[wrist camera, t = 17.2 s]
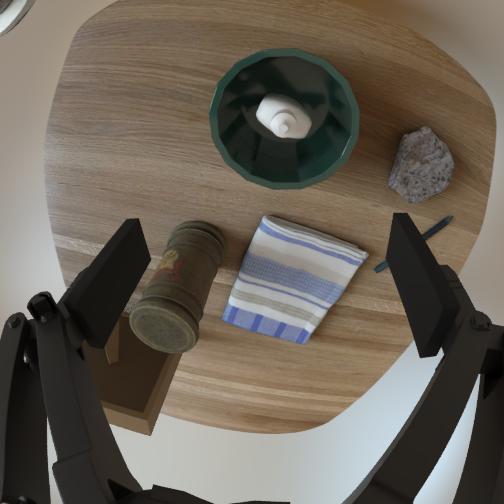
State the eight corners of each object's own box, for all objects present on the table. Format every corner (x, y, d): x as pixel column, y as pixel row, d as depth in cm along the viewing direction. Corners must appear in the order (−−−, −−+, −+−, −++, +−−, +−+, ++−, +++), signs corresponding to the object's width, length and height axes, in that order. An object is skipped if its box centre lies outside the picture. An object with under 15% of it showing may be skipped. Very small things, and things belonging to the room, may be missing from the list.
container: (236, 236, 46) (211, 327, 32) (212, 275, 51) (185, 364, 37) (181, 209, 45) (133, 291, 30) (164, 252, 49) (120, 335, 35)
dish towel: (369, 247, 45) (373, 258, 43) (305, 339, 58) (305, 350, 56) (264, 206, 43) (262, 216, 41) (220, 314, 56) (217, 325, 54)
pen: (452, 216, 40) (455, 220, 39) (376, 271, 48) (377, 275, 47) (449, 212, 40) (452, 215, 39) (373, 267, 47) (374, 271, 46)
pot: (221, 56, 32) (202, 55, 24) (342, 53, 30) (359, 50, 22) (231, 164, 40) (218, 191, 33) (342, 163, 38) (355, 190, 31)
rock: (382, 190, 39) (390, 203, 36) (403, 117, 33) (414, 123, 30) (433, 203, 39) (444, 216, 36) (455, 136, 33) (470, 145, 30)
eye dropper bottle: (283, 136, 36) (282, 166, 27) (255, 101, 34) (243, 117, 24) (312, 117, 35) (323, 141, 25) (285, 81, 32) (285, 88, 23)
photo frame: (188, 337, 62) (156, 446, 41) (97, 317, 62) (50, 408, 42) (185, 285, 53) (138, 412, 33) (82, 266, 54) (15, 365, 33)
